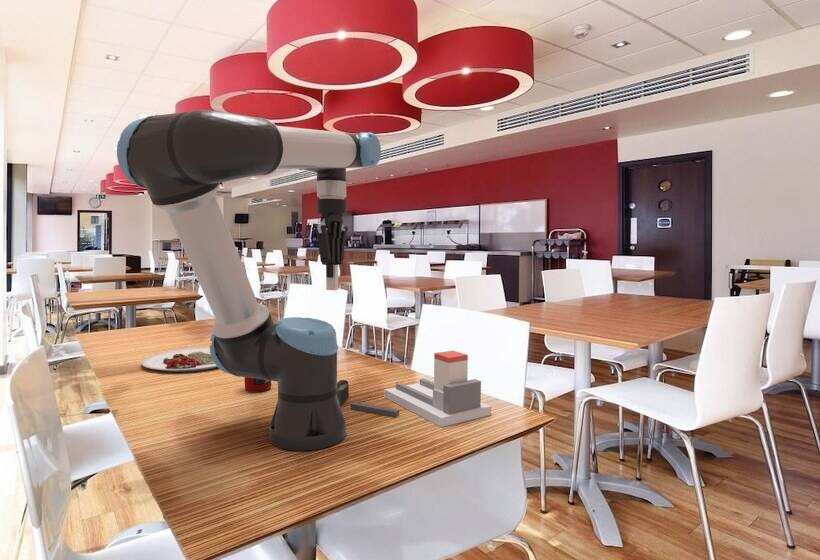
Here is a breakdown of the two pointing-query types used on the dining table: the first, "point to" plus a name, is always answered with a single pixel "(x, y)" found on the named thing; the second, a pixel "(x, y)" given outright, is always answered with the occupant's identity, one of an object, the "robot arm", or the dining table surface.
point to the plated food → (181, 360)
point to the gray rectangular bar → (375, 409)
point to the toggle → (449, 368)
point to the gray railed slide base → (441, 401)
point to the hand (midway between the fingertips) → (332, 289)
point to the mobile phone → (342, 391)
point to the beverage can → (256, 384)
